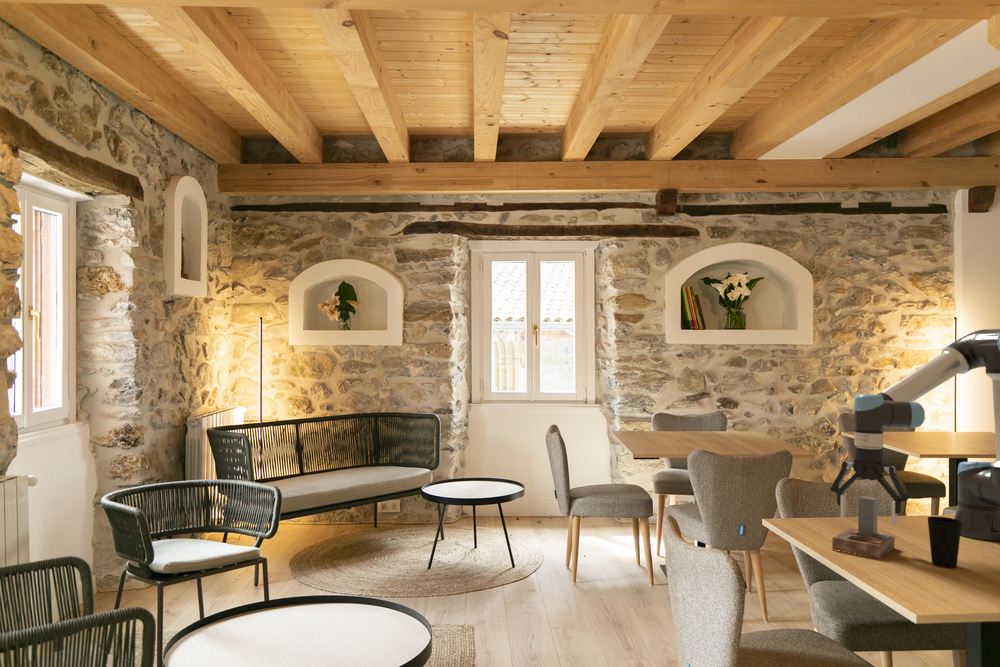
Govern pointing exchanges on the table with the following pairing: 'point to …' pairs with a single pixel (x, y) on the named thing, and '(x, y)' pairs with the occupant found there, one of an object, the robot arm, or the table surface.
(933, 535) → the cup
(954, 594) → the table surface
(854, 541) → the socket block
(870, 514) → the plug
